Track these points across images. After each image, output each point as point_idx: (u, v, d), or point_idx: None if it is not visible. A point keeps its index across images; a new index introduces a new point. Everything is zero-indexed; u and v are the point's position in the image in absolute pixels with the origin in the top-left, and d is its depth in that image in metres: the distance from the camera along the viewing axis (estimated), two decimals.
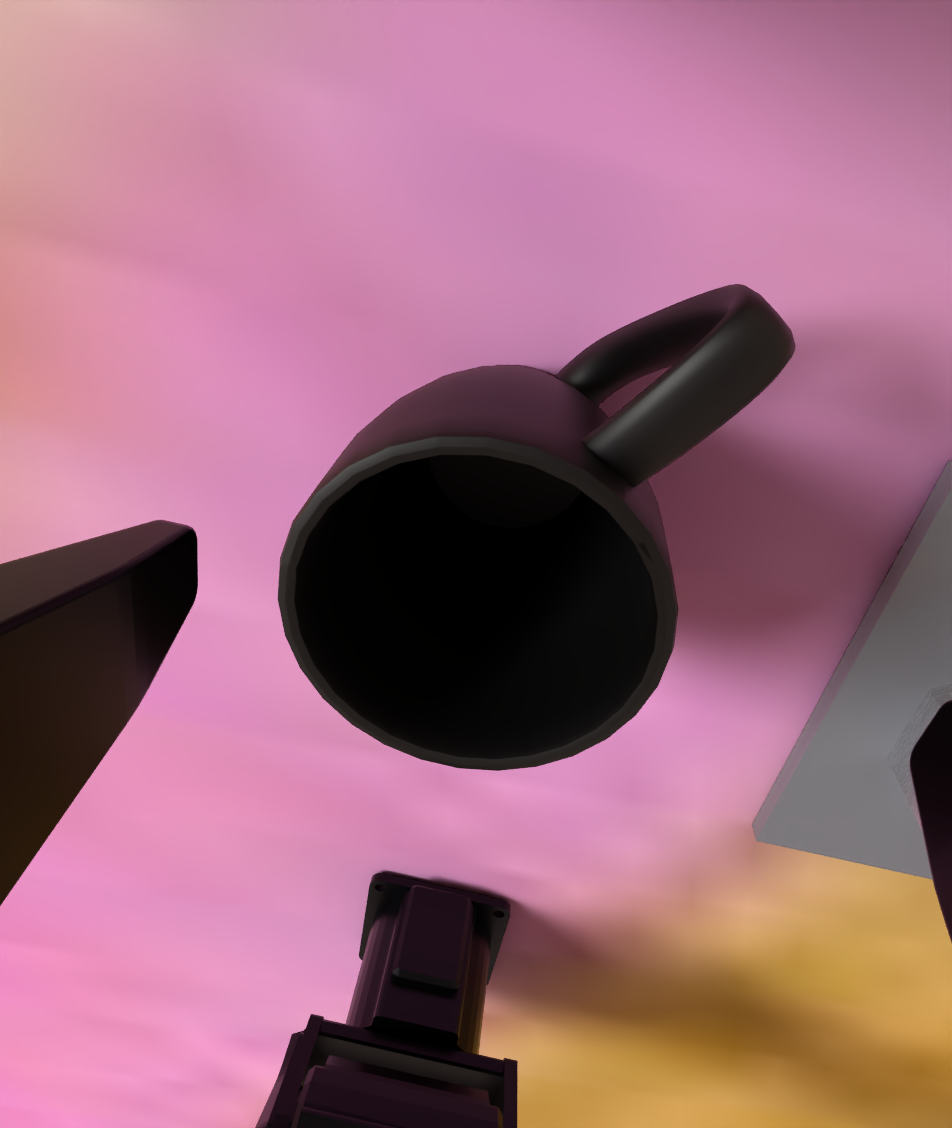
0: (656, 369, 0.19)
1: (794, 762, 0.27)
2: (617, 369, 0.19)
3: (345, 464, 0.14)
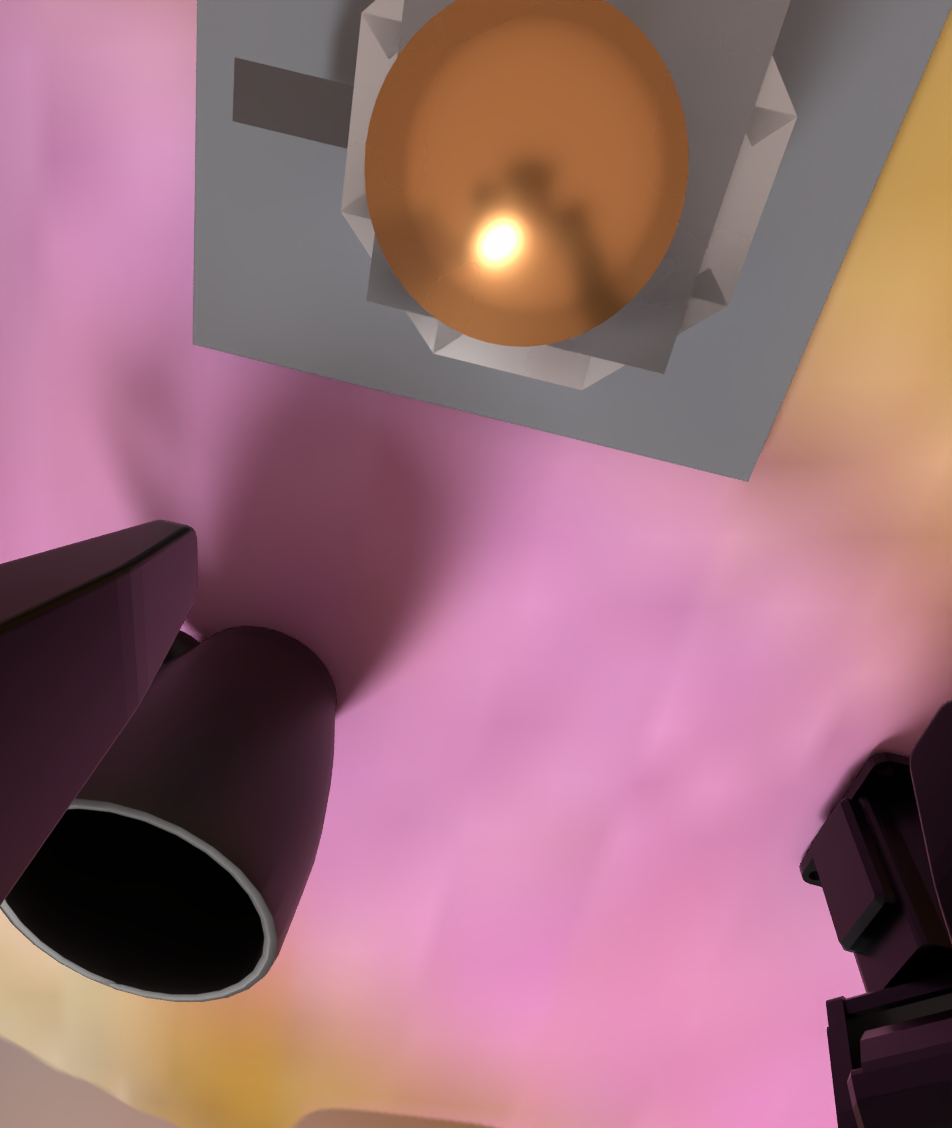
0: None
1: (606, 443, 0.21)
2: None
3: None
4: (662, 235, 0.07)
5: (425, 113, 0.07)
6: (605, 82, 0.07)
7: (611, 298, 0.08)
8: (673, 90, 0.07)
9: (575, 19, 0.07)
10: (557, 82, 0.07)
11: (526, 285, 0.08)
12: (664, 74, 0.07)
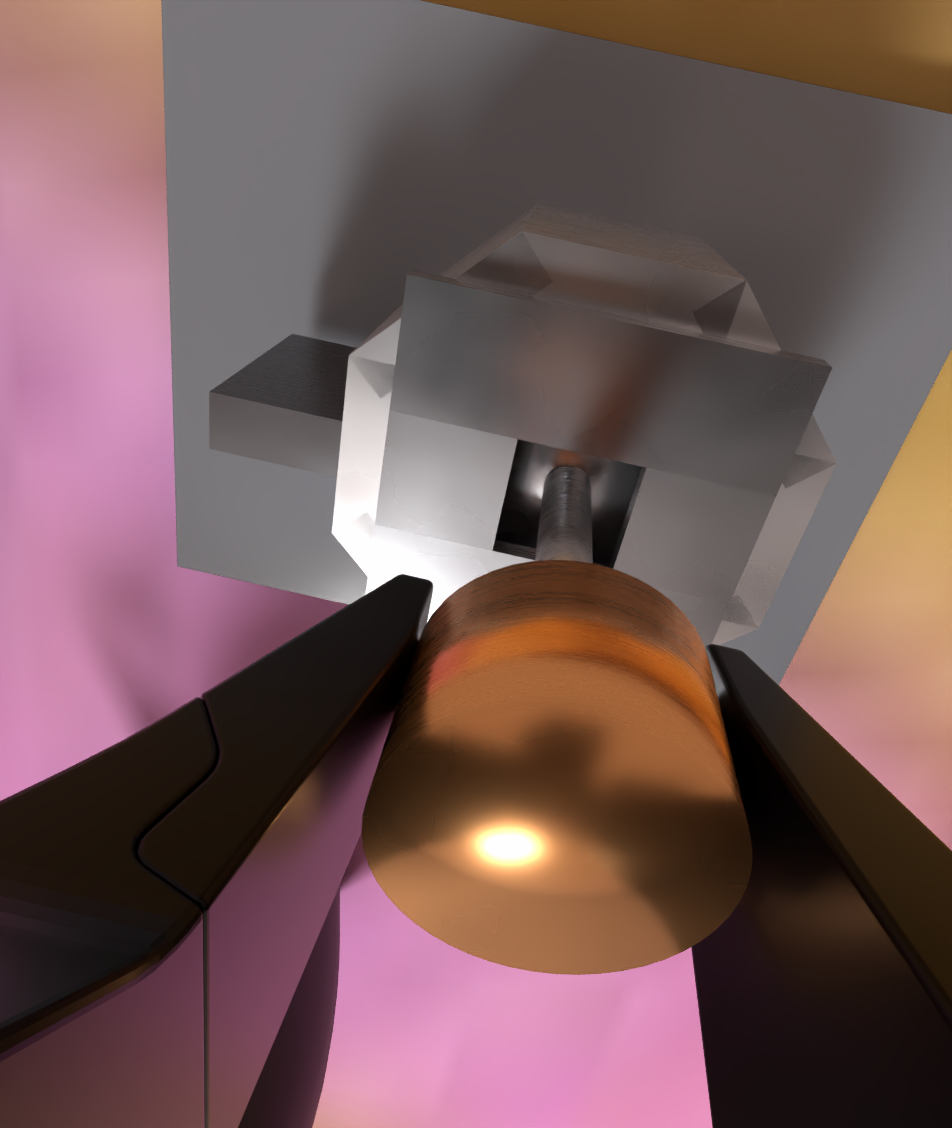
0: None
1: None
2: None
3: None
4: (719, 910, 0.06)
5: (433, 798, 0.06)
6: (653, 794, 0.06)
7: (657, 948, 0.07)
8: (734, 789, 0.06)
9: (616, 744, 0.05)
10: (594, 790, 0.06)
11: (555, 931, 0.07)
12: (725, 794, 0.06)
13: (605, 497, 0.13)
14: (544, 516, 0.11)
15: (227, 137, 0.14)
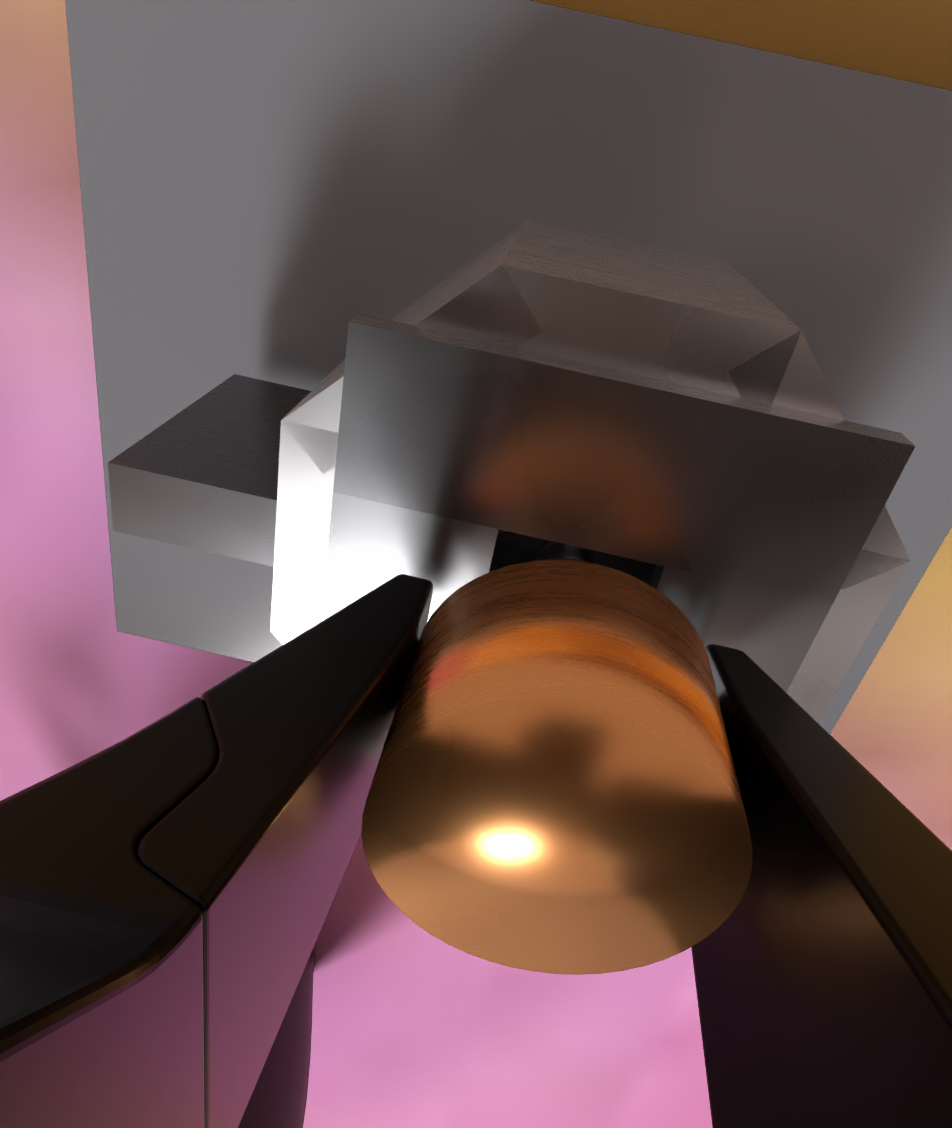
0: None
1: None
2: None
3: None
4: (719, 910, 0.06)
5: (433, 797, 0.06)
6: (652, 795, 0.06)
7: (656, 948, 0.07)
8: (734, 790, 0.06)
9: (615, 743, 0.05)
10: (593, 790, 0.06)
11: (555, 931, 0.07)
12: (723, 794, 0.06)
13: None
14: None
15: (151, 139, 0.12)
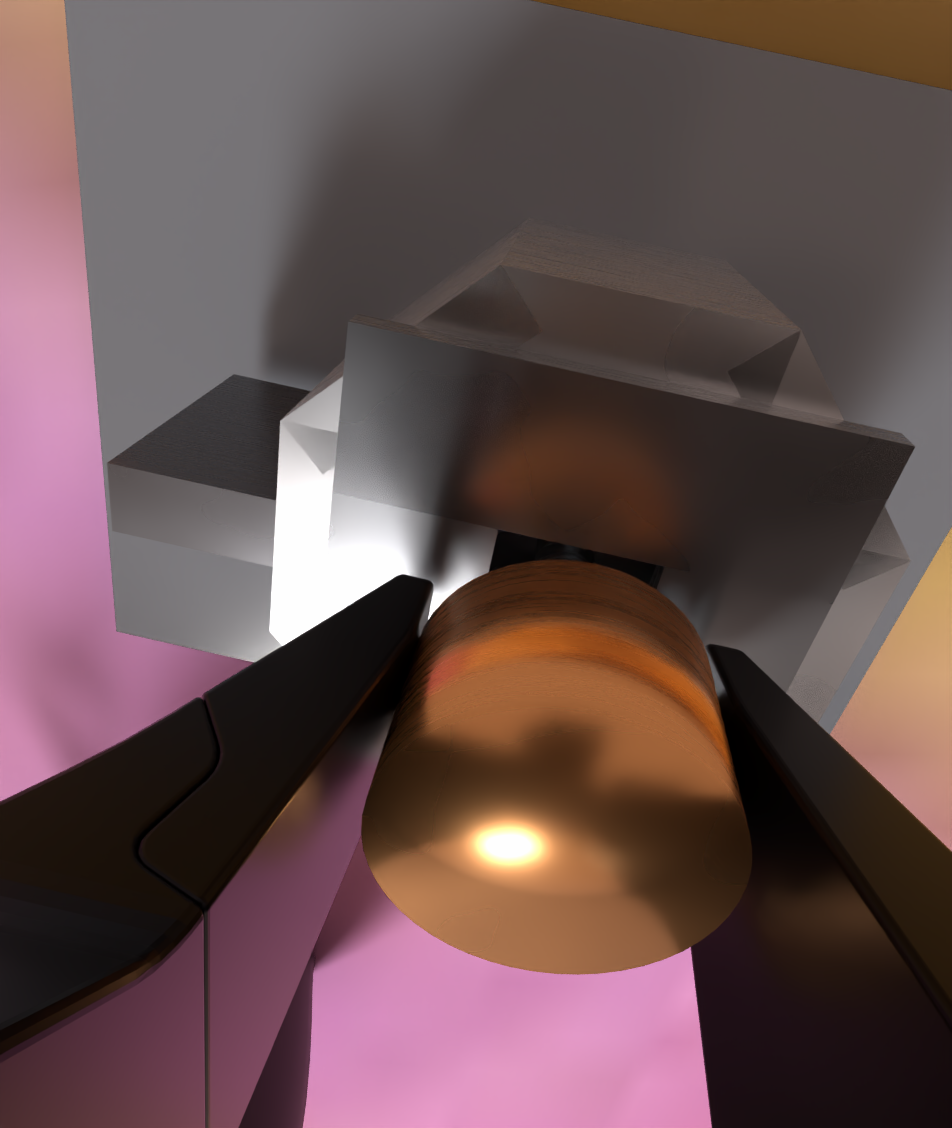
0: None
1: None
2: None
3: None
4: (718, 910, 0.06)
5: (433, 797, 0.06)
6: (652, 795, 0.06)
7: (656, 948, 0.07)
8: (734, 790, 0.06)
9: (615, 743, 0.05)
10: (592, 788, 0.06)
11: (554, 931, 0.07)
12: (723, 793, 0.06)
13: None
14: None
15: (150, 138, 0.12)
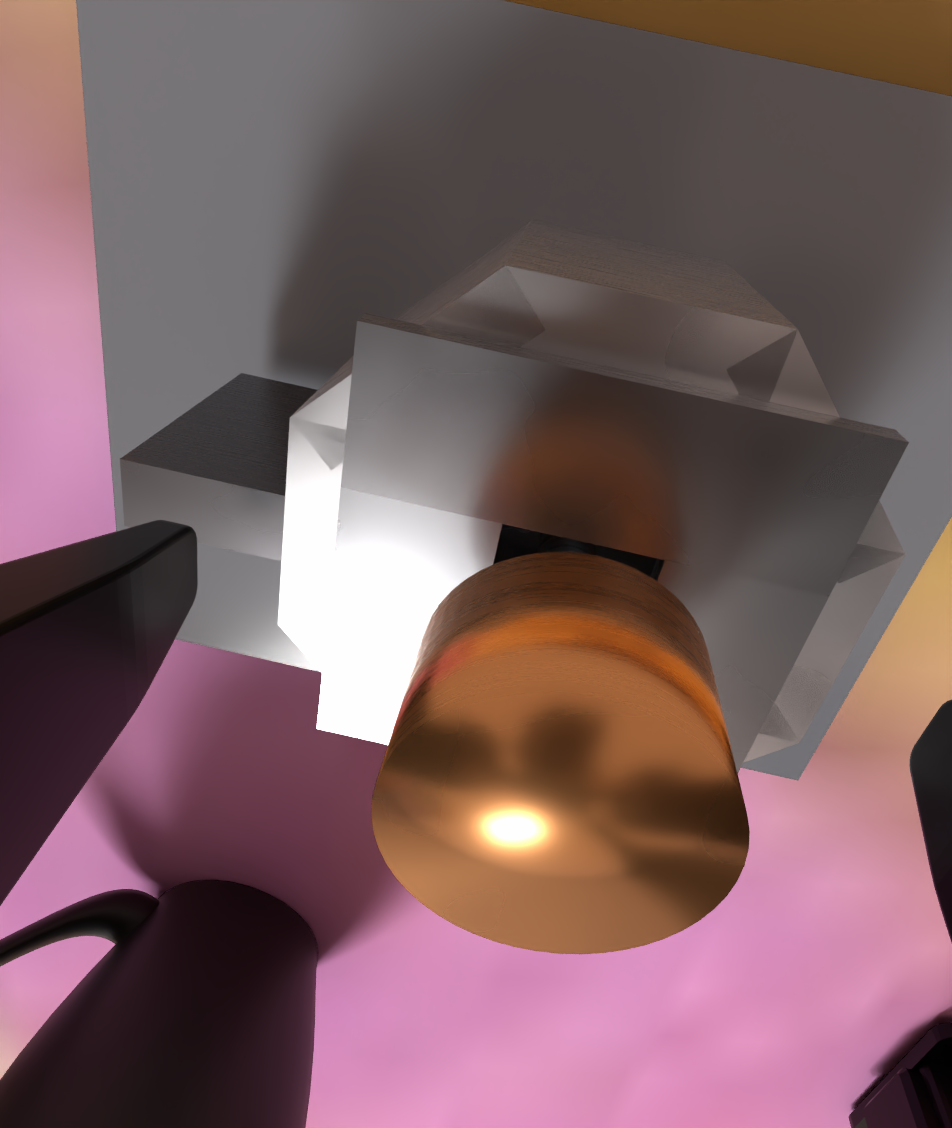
0: (44, 935, 0.20)
1: None
2: (74, 935, 0.21)
3: None
4: (717, 889, 0.06)
5: (441, 780, 0.06)
6: (652, 776, 0.06)
7: (657, 928, 0.07)
8: (733, 772, 0.06)
9: (617, 726, 0.06)
10: (595, 770, 0.06)
11: (558, 911, 0.07)
12: (722, 774, 0.06)
13: None
14: None
15: (160, 142, 0.12)
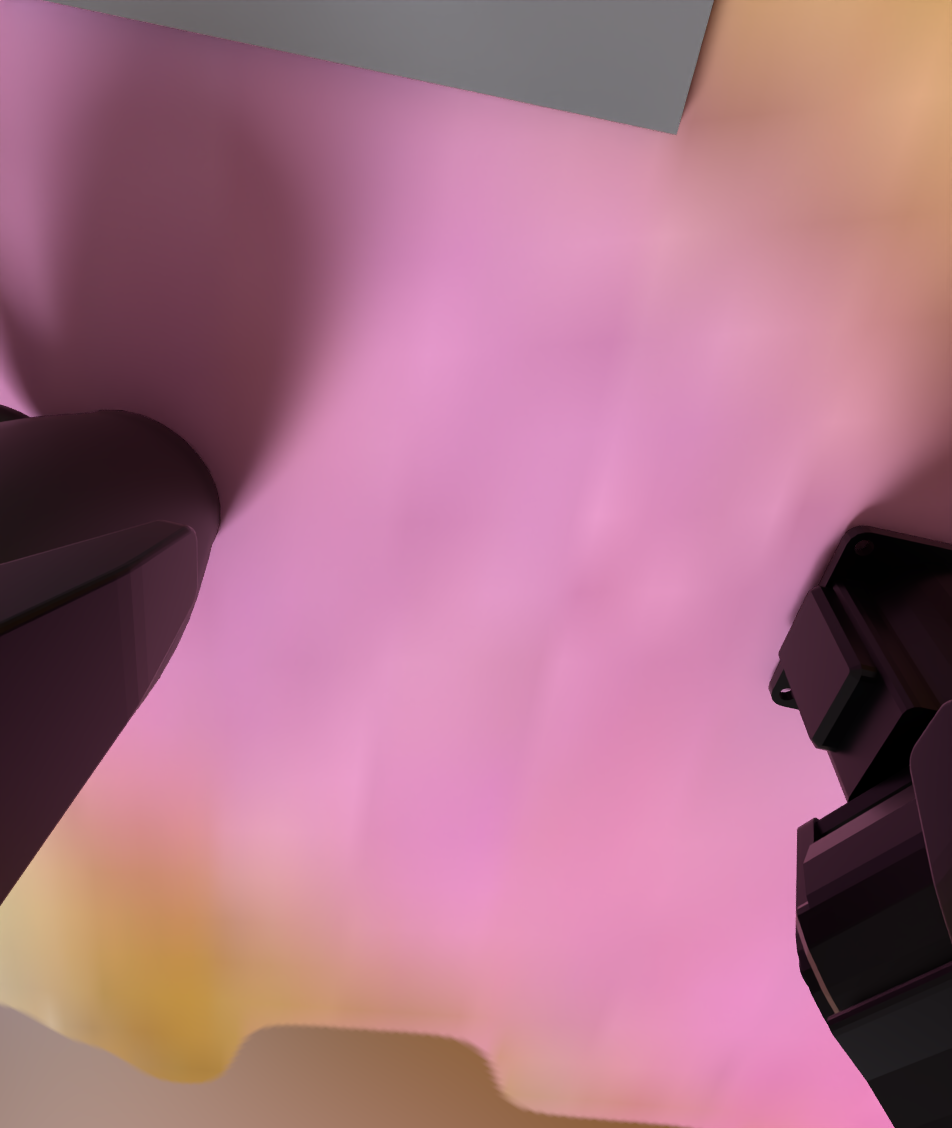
0: None
1: (498, 97, 0.17)
2: None
3: None
4: None
5: None
6: None
7: None
8: None
9: None
10: None
11: None
12: None
13: None
14: None
15: None
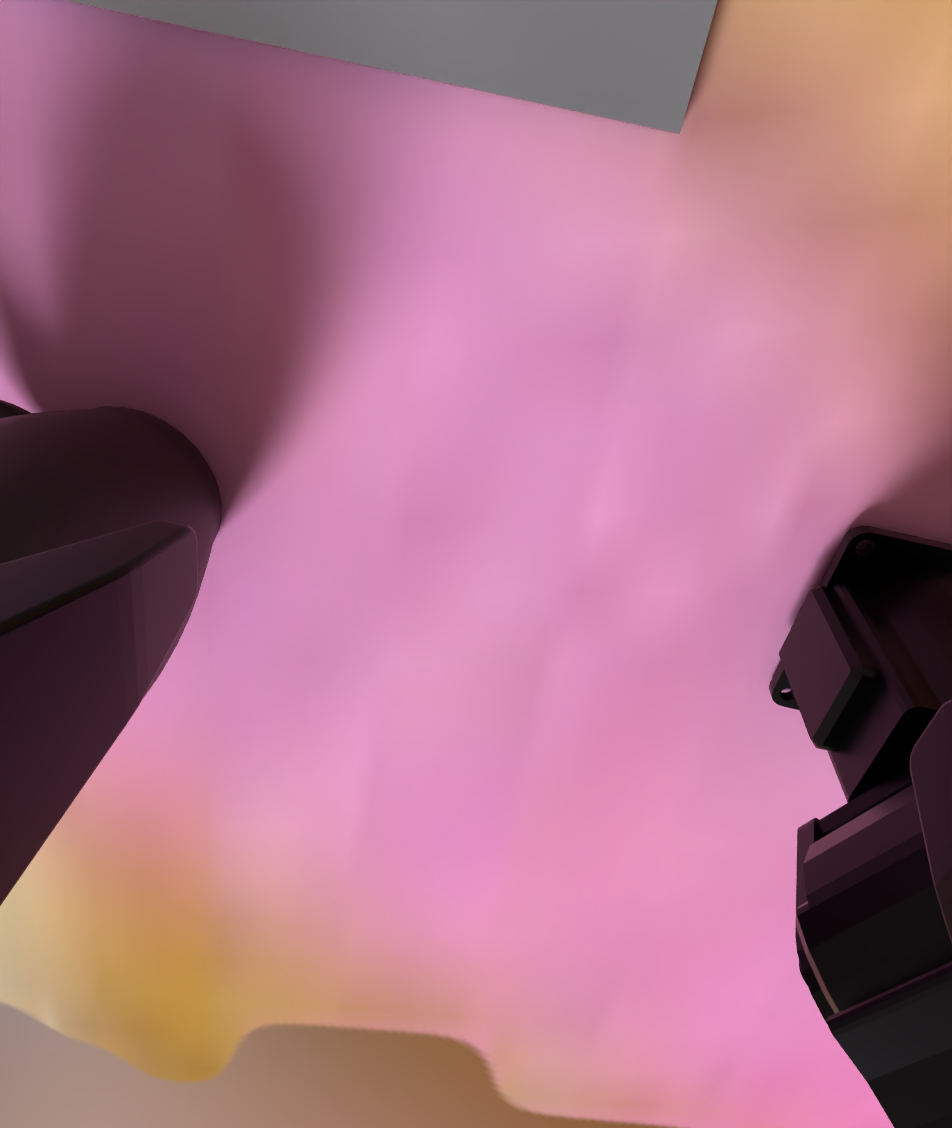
0: None
1: (502, 95, 0.17)
2: None
3: None
4: None
5: None
6: None
7: None
8: None
9: None
10: None
11: None
12: None
13: None
14: None
15: None
